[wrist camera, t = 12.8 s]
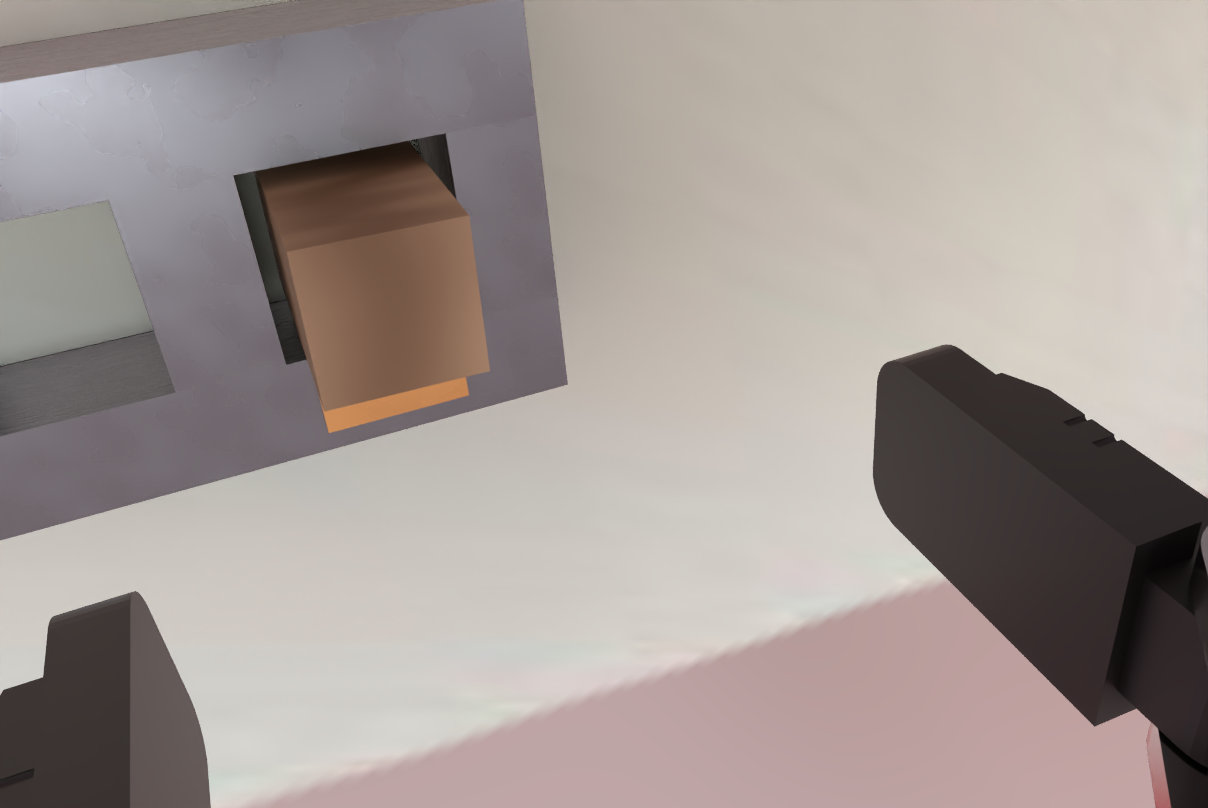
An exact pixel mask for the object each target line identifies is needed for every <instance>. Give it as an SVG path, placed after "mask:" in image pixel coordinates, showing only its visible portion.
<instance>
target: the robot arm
mask: <svg viewBox="0 0 1208 808" xmlns="http://www.w3.org/2000/svg"><path fill="white" fill-rule="evenodd" d="M873 479H874V485H875V490H876V493H877V497H878V499H879V502H880V504H881V506H882V508H883V510H884V512H885V514H886V515H887V517H888V518H889V520H890V521H891V522H892V524H893V525H894V526H895V527H896V528H897V529H898V530H899V531H900V532H901V533H902V534H903V535H904V536H905V537H906V538H907V539H908V540H909V541H910V542H911V543H912V544H913V545H914V546H915V547H916V548H917V549H918V550H919V551H920V552H921V553H922V554H923V555H924V556H925V557H926V558H927V559H928V560H929V561H930V562H931V563H932V564H933V565H934V566H935V567H936V568H937V569H938V570H939V571H940V572H941V573H942V574H943V575H944V576H945V577H946V578H947V579H948V580H949V581H950V582H951V583H952V584H953V585H954V586H955V587H956V588H957V589H958V590H959V591H960V592H961V593H962V594H963V595H964V596H965V597H966V598H967V599H968V600H969V601H970V602H971V603H972V604H973V605H974V606H975V607H976V608H977V609H978V610H979V611H980V612H981V613H982V614H983V615H984V616H985V617H986V618H987V619H988V620H989V621H990V622H991V623H992V624H993V625H994V626H995V627H996V628H997V629H998V630H999V631H1000V632H1001V633H1002V634H1003V635H1004V636H1005V637H1006V638H1007V639H1008V640H1009V641H1010V642H1011V643H1012V644H1013V645H1014V646H1015V647H1016V648H1017V649H1018V650H1019V651H1020V652H1021V653H1022V654H1023V655H1024V656H1025V657H1026V658H1027V659H1028V660H1029V661H1030V662H1031V663H1032V664H1033V665H1034V666H1035V667H1036V668H1037V669H1038V670H1039V671H1040V672H1041V673H1042V674H1043V675H1044V676H1045V677H1046V678H1047V679H1048V680H1049V681H1050V682H1051V683H1052V684H1053V685H1054V686H1055V687H1056V688H1057V689H1058V690H1059V691H1060V692H1061V693H1062V694H1063V695H1064V696H1065V697H1066V698H1067V699H1068V700H1069V701H1070V702H1071V703H1072V704H1073V705H1074V706H1075V707H1076V708H1077V709H1078V710H1079V711H1080V712H1081V713H1082V714H1083V715H1084V716H1085V717H1086V718H1087V719H1088V720H1089V721H1090V722H1091V723H1092V724H1093V725H1094V726H1097V725H1099V724H1101V723H1103V722H1106V721H1108V720H1110V719H1113V718H1115V717H1118V716H1120V715H1122V714H1125V713H1127V712H1129V711H1132V710H1134V709H1136V708H1137V709H1138V710H1139V711H1140V712H1141V713H1142V714H1143V715H1144V716H1145V717H1146V718H1148V720H1150V721H1151V724H1150V727H1149V731H1148V735H1147V740H1146V742H1147V754H1148V760H1149V767H1150V773H1151V779H1152V787H1153V793H1154V799H1155V807H1156V808H1208V498H1206V497H1205V496H1203V495H1202V494H1200V493H1199V492H1197V491H1196V490H1194V489H1193V488H1191V487H1190V486H1189V485H1187V484H1186V483H1184V482H1183V481H1181V480H1180V479H1178V478H1177V477H1175V476H1174V475H1173V474H1171V473H1170V472H1168V471H1167V470H1165V469H1164V468H1162V467H1161V466H1159V465H1158V464H1156V463H1155V462H1154V461H1152V460H1151V459H1149V458H1148V457H1146V456H1145V455H1143V454H1142V453H1140V452H1139V451H1137V450H1136V449H1135V448H1133V447H1132V446H1130V445H1129V444H1127V443H1126V442H1124V441H1123V440H1120V441H1116V440H1115V438H1114V434H1113V433H1111V432H1110V431H1108V430H1107V429H1105V428H1104V427H1102V426H1101V425H1100V424H1098V423H1097V422H1095V421H1094V420H1092V419H1091V420H1088V421H1087V420H1086V419H1085V414H1083V413H1082V412H1081V411H1079V410H1078V409H1076V408H1075V407H1073V406H1072V405H1070V404H1069V403H1067V402H1066V401H1064V400H1063V399H1062V398H1060V397H1059V396H1057V395H1056V394H1054V393H1053V392H1051V391H1050V390H1048V389H1046V388H1043V387H1040V386H1037V385H1034V384H1032V383H1029V382H1026V381H1023V380H1020V379H1018V378H1015V377H1012V376H1009V375H1006V374H1003V373H1000V374H997V375H996V374H994V373H993V372H992V371H990V370H989V369H987V368H986V367H985V366H983V365H982V364H980V363H979V362H977V361H976V360H975V359H973V358H972V357H970V356H969V355H968V354H966V353H965V352H963V351H962V350H961V349H959V348H957V347H955V346H952V345H942V346H938V347H935V348H932V349H929V350H925V351H922V352H919V353H916V354H912V355H909V356H906V357H903V358H899V359H896V360H893V361H890V362H887V363H886V364H884V365H883V367H882V368H881V370H880V372H879V375H878V381H877V398H876V419H875V439H874V460H873ZM0 808H211V806H210V792H209V779H208V766H207V757H206V751H205V745H204V741H203V736H202V732H201V728H200V725H199V721H198V718H197V715H196V712H195V709H194V706H193V704H192V701H191V699H190V697H189V694H188V692H187V690H186V688H185V686H184V684H183V682H182V679H181V677H180V675H179V673H178V671H177V669H176V666H175V664H174V662H173V660H172V658H171V656H170V654H169V651H168V649H167V647H166V645H165V643H164V641H163V638H162V636H161V634H160V632H159V630H158V628H157V625H156V623H155V621H154V619H153V617H152V615H151V613H150V610H149V608H148V606H147V604H146V602H145V601H144V599H143V598H142V596H141V595H140V594H139V593H138V592H136V591H134V592H131V593H128V594H124V595H121V596H118V597H115V598H111V599H108V600H105V601H102V602H98V603H95V604H92V605H89V606H85V607H82V608H79V609H76V610H72V611H69V612H66V613H63V614H59V615H56V616H54V617H52V618H51V620H50V622H49V627H48V634H47V645H46V655H45V665H44V675H43V678H40V679H37V680H34V681H30V682H27V683H24V684H21V685H18V686H15V687H12V688H9V689H5V690H3V692H2V693H1V695H0Z"/></svg>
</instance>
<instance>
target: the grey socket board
mask: <svg viewBox="0 0 1208 808" xmlns="http://www.w3.org/2000/svg"><path fill="white" fill-rule="evenodd" d="M414 139H418V142H419V148H420V154H421V157H422V158H423V159H424V161H425V162H426V163H427V164H428V165H429V167H430V168H431V169H432V170H433V172H434V173H435V174H436V175H437V177H438V178H439V179H440V180H441V181H442V183H443V184H444V185H445V186H446V188H447V189H448V190H449V191H450V192H451V194H452V195H453V196H454V197H455V199H456V200H457V201H458V202H459V204H460V205H461V206H462V207H463V208H464V210H465V211H466V212H467V213H468V215H469V218H470V226H471V233H472V240H473V248H474V255H475V263H476V270H477V278H478V285H479V292H480V300H481V307H482V315H483V322H484V329H485V337H486V344H487V352H488V359H489V367H490V371H488V372H484V373H480V374H476V375H472V376H468V377H464V378H460V379H456V380H452V381H447V382H443V383H439V384H435V385H431V386H427V387H423V388H419V389H415V390H411V391H407V392H403V393H399V394H395V395H390V396H386V397H382V398H378V399H374V400H370V401H366V402H362V403H358V404H354V405H350V406H346V407H342V408H337V409H333V410H329V411H325V412H324V409H323V406H322V403H321V400H320V397H319V394H318V391H317V388H316V386H315V383H314V380H313V377H312V374H311V371H310V368H309V365H308V362H307V359H306V356H305V353H304V350H303V347H302V344H301V341H300V338H299V335H298V332H297V329H296V326H295V323H294V320H293V317H292V314H291V311H290V308H289V305H288V302H287V300H284V301H280V302H276V303H272V304H269V302H268V298H267V295H266V291H265V288H264V284H263V280H262V277H261V273H260V270H259V266H258V263H257V259H256V255H255V252H254V248H253V245H252V241H251V238H250V234H249V230H248V227H247V223H246V220H245V216H244V213H243V209H242V205H241V202H240V198H239V195H238V191H237V188H236V184H235V180H234V177H233V175H238V174H243V173H248V172H253V171H258V170H263V169H268V168H273V167H278V166H283V165H289V164H294V163H299V162H304V161H309V160H314V159H319V158H324V157H329V156H334V155H339V154H344V153H349V152H354V151H359V150H364V149H369V148H374V147H379V146H384V145H389V144H394V143H399V142H404V141H409V140H414ZM103 201H109V204H110V206H111V209H112V212H113V215H114V218H115V221H116V224H117V226H118V229H119V232H120V235H121V238H122V241H123V244H124V246H125V249H126V252H127V255H128V258H129V261H130V264H131V266H132V269H133V272H134V275H135V278H136V281H137V283H138V286H139V289H140V292H141V295H142V298H143V301H144V303H145V306H146V309H147V312H148V315H149V318H150V321H151V323H152V326H153V329H154V331H152V332H147V333H143V334H139V335H135V336H130V337H126V338H122V339H117V340H113V341H109V342H105V343H100V344H96V345H92V346H88V347H83V348H79V349H75V350H70V351H66V352H62V353H58V354H53V355H49V356H45V357H40V358H36V359H32V360H28V361H23V362H19V363H15V364H10V365H6V366H2V367H0V540H3V539H7V538H11V537H14V536H18V535H22V534H25V533H29V532H33V531H36V530H40V529H43V528H47V527H51V526H54V525H58V524H62V523H65V522H69V521H73V520H76V519H80V518H83V517H87V516H91V515H94V514H98V513H102V512H105V511H109V510H113V509H116V508H120V507H124V506H127V505H131V504H134V503H138V502H142V501H145V500H149V499H153V498H156V497H160V496H164V495H167V494H171V493H174V492H178V491H182V490H185V489H189V488H193V487H196V486H200V485H204V484H207V483H211V482H214V481H218V480H222V479H225V478H229V477H233V476H236V475H240V474H244V473H247V472H251V471H254V470H258V469H262V468H265V467H269V466H273V465H276V464H280V463H284V462H287V461H291V460H294V459H298V458H302V457H305V456H309V455H313V454H316V453H320V452H324V451H327V450H331V449H334V448H338V447H342V446H345V445H349V444H353V443H356V442H360V441H364V440H367V439H371V438H375V437H378V436H382V435H385V434H389V433H393V432H396V431H400V430H404V429H407V428H411V427H415V426H418V425H422V424H425V423H429V422H433V421H436V420H440V419H444V418H447V417H451V416H455V415H458V414H462V413H465V412H469V411H473V410H476V409H480V408H484V407H487V406H491V405H495V404H498V403H502V402H505V401H509V400H513V399H516V398H520V397H524V396H527V395H531V394H535V393H538V392H542V391H545V390H549V389H553V388H556V387H560V386H564V385H567V384H568V383H567V375H566V366H565V358H564V349H563V340H562V332H561V323H560V315H559V306H558V297H557V289H556V280H555V272H554V263H553V254H552V246H551V237H550V229H549V220H548V211H547V203H546V194H545V186H544V177H543V168H542V160H541V151H540V143H539V134H538V125H537V117H536V108H535V100H534V91H533V82H532V74H531V65H530V57H529V48H528V39H527V31H526V22H525V14H524V5H523V0H297V1H291V2H284V3H278V4H272V5H265V6H259V7H253V8H246V9H240V10H234V11H227V12H221V13H215V14H208V15H202V16H196V17H189V18H183V19H177V20H170V21H164V22H157V23H151V24H145V25H138V26H132V27H126V28H119V29H113V30H107V31H100V32H94V33H88V34H81V35H75V36H69V37H62V38H56V39H50V40H43V41H37V42H31V43H24V44H18V45H11V46H5V47H0V222H2V221H7V220H12V219H17V218H22V217H27V216H32V215H37V214H42V213H47V212H52V211H57V210H62V209H67V208H73V207H78V206H83V205H88V204H93V203H98V202H103Z"/></svg>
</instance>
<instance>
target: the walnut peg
mask: <svg viewBox="0 0 1208 808" xmlns="http://www.w3.org/2000/svg"><path fill="white" fill-rule="evenodd" d="M254 174H255V178H256V182H257V187H258V191H259V195H260V199H261V203H262V207H263V211H264V215H265V219H266V224H267V228H268V232H269V236H270V240H271V244H272V248H273V252H274V256H275V261H276V265H277V269H278V273H279V277H280V281H281V284H282V287H283V290H284V293H285V296H286V299H287V302H288V305H289V308H290V311H291V314H292V317H293V320H294V323H295V326H296V329H297V332H298V335H299V338H300V341H301V344H302V347H303V350H304V353H305V356H306V359H307V362H308V365H309V368H310V371H311V374H312V377H313V380H314V383H315V386H316V388H317V391H318V394H319V397H320V400H321V403H322V406H323V409H324V412H325V411H329V410H333V409H337V408H342V407H346V406H350V405H354V404H358V403H362V402H366V401H370V400H374V399H378V398H382V397H386V396H390V395H395V394H399V393H403V392H407V391H411V390H415V389H419V388H423V387H427V386H431V385H435V384H439V383H443V382H447V381H452V380H456V379H460V378H464V377H468V376H472V375H476V374H480V373H484V372H488V371H490V367H489V359H488V352H487V344H486V337H485V329H484V322H483V315H482V307H481V300H480V292H479V285H478V278H477V270H476V263H475V255H474V248H473V240H472V233H471V226H470V218H469V215H468V213H467V212H466V211H465V210H464V208H463V207H462V206H461V205H460V204H459V202H458V201H457V200H456V199H455V197H454V196H453V195H452V194H451V192H450V191H449V190H448V189H447V188H446V186H445V185H444V184H443V183H442V181H441V180H440V179H439V178H438V177H437V175H436V174H435V173H434V172H433V170H432V169H431V168H430V167H429V165H428V164H427V163H426V162H425V161H424V159H423V158H422V157H421V156H420V154H419V153H418V152H417V151H416V149H415V148H414V147H413V146H412V145H411V143H410V142H409V141H404V142H399V143H394V144H389V145H384V146H379V147H374V148H369V149H364V150H359V151H354V152H349V153H344V154H339V155H334V156H329V157H324V158H319V159H314V160H309V161H304V162H299V163H294V164H289V165H283V166H278V167H273V168H268V169H263V170H258V171H254Z"/></svg>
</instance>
